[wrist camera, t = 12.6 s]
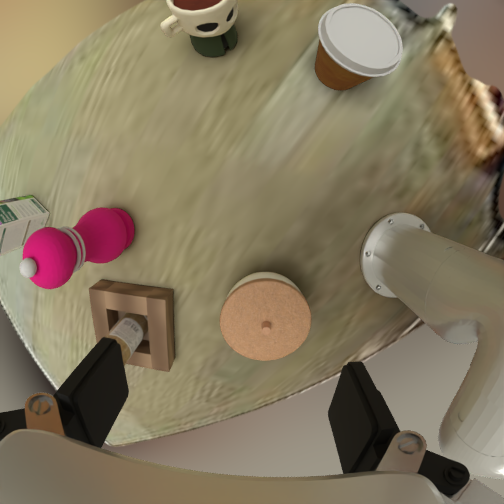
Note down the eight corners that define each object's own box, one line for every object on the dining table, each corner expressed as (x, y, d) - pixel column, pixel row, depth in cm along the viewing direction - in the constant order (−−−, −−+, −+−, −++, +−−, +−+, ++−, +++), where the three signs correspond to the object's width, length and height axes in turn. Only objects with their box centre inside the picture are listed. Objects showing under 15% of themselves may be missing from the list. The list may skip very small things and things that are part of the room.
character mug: (198, 78, 33) (172, 36, 20) (170, 48, 32) (138, 3, 19) (262, 36, 31) (264, -17, 18) (231, 8, 30) (223, -45, 17)
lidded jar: (238, 337, 42) (234, 376, 33) (216, 272, 39) (204, 299, 30) (308, 321, 41) (321, 356, 32) (292, 252, 39) (303, 274, 29)
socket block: (173, 289, 40) (165, 300, 36) (175, 357, 43) (169, 371, 39) (101, 279, 40) (88, 288, 36) (109, 344, 43) (99, 357, 39)
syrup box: (51, 212, 37) (-13, 229, 23) (40, 241, 39) (-20, 265, 25) (32, 194, 37) (-30, 205, 23) (21, 222, 38) (-37, 240, 24)
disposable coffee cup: (314, 33, 31) (333, -12, 19) (375, 60, 31) (412, 27, 20) (293, 84, 33) (308, 47, 21) (358, 112, 34) (397, 89, 22)
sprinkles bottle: (119, 317, 41) (78, 363, 28) (137, 302, 40) (96, 348, 27) (138, 338, 42) (104, 389, 29) (157, 325, 41) (124, 377, 28)
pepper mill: (130, 261, 39) (47, 323, 20) (91, 242, 39) (-2, 287, 19) (144, 215, 38) (55, 249, 18) (103, 197, 37) (3, 217, 17)
